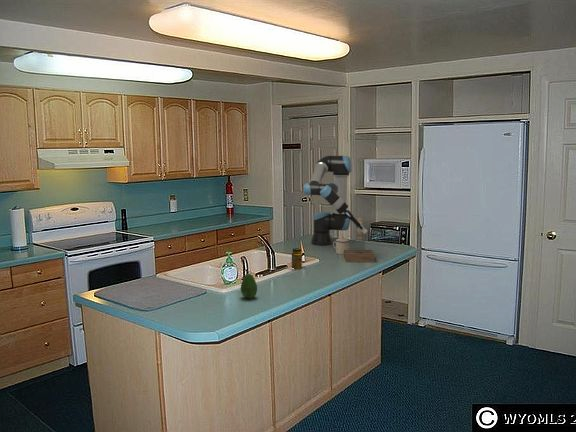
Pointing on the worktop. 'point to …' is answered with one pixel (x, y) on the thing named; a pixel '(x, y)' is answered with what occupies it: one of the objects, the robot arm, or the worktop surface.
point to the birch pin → (359, 233)
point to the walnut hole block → (359, 256)
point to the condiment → (297, 259)
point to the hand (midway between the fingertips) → (365, 231)
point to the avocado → (248, 286)
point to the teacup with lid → (341, 245)
